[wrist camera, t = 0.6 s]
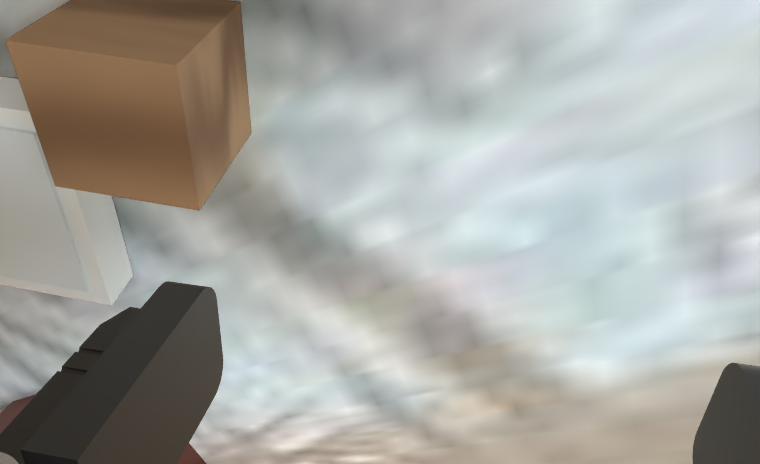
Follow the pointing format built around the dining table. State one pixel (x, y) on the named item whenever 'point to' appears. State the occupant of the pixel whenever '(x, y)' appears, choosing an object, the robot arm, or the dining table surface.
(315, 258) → the dining table surface
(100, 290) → the tray
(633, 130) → the dining table surface
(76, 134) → the walnut cube
